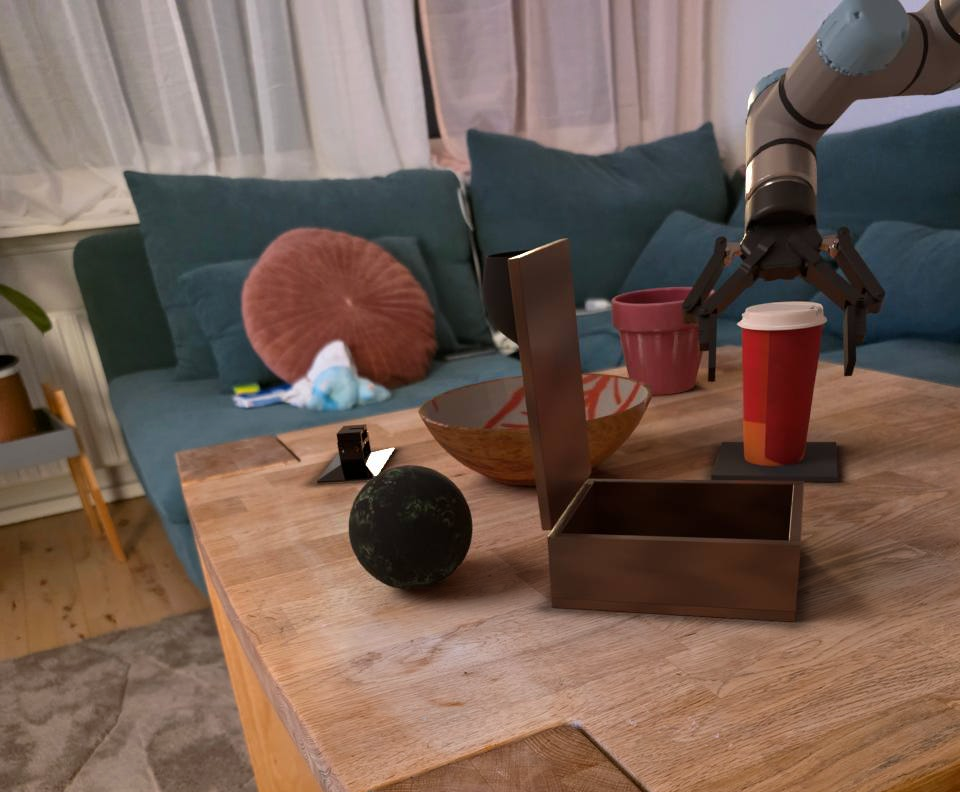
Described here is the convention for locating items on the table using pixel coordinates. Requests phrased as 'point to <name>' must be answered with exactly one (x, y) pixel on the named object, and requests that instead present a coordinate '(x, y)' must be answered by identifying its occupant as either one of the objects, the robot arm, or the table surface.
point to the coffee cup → (779, 379)
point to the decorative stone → (410, 527)
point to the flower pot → (658, 338)
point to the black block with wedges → (355, 457)
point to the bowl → (504, 423)
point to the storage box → (680, 548)
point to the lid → (551, 375)
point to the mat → (811, 468)
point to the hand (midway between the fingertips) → (779, 372)
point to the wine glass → (500, 293)
